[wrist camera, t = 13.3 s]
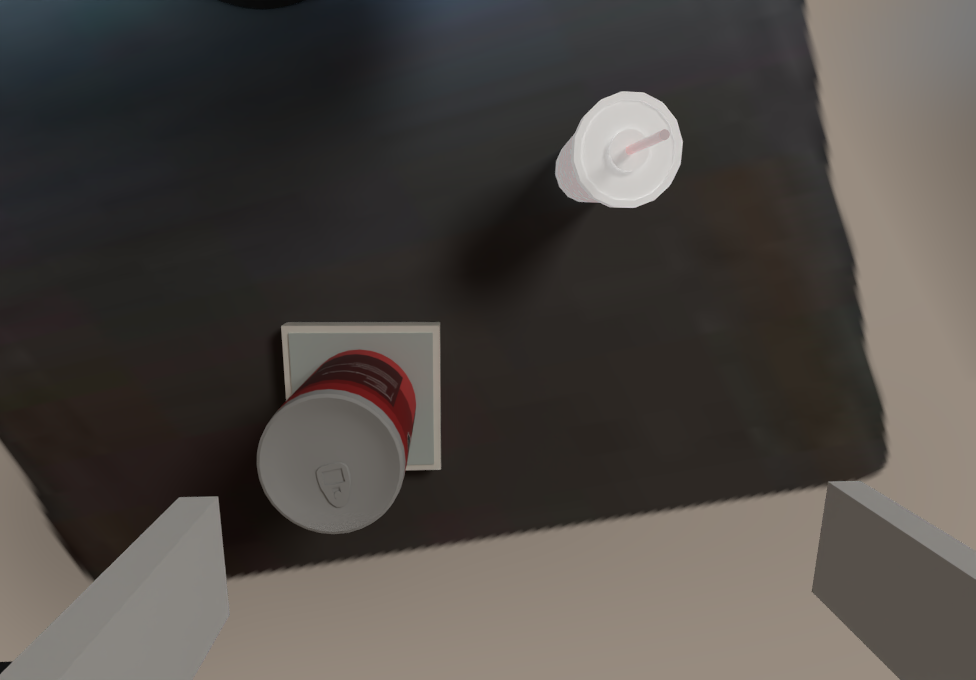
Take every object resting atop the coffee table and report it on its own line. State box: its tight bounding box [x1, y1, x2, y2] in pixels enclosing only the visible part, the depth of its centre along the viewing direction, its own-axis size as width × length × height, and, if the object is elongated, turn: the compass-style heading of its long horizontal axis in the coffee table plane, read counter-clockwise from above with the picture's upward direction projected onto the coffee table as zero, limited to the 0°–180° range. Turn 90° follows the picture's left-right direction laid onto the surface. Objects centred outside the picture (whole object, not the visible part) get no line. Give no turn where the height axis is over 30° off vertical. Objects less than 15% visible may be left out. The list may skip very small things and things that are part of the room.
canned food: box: [257, 349, 416, 534], centre depth 33 cm, size 8×8×11 cm
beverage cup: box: [555, 91, 683, 208], centre depth 31 cm, size 6×6×14 cm
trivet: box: [281, 322, 441, 470], centre depth 39 cm, size 11×11×2 cm
